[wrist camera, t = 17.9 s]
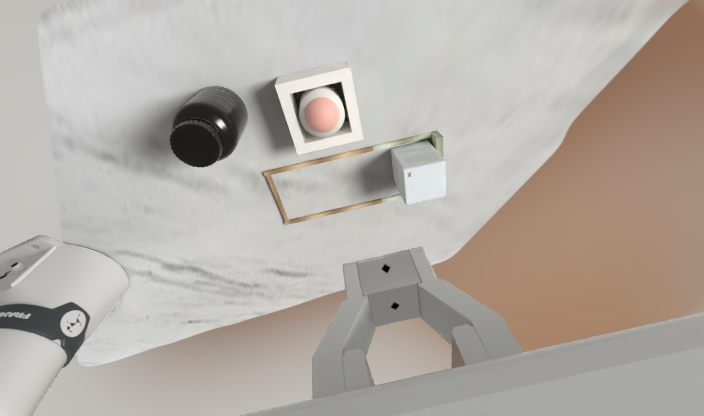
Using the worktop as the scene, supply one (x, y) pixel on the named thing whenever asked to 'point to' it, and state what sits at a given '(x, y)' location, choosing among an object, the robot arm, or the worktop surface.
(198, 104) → the supplement bottle
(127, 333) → the worktop surface
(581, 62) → the worktop surface
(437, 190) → the product box
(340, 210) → the track
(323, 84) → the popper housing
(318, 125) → the white pink rounded piece
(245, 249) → the worktop surface
